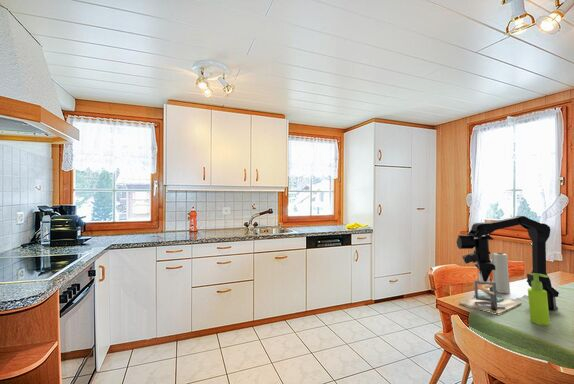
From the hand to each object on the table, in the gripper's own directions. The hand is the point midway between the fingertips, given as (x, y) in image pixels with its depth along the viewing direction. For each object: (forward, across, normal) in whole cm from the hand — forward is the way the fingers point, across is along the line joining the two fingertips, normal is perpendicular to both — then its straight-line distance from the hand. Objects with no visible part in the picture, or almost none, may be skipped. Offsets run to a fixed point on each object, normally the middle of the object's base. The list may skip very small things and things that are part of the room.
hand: (484, 280), depth 134 cm
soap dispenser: (+12, +15, +16) cm, 25 cm away
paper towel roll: (+12, -29, +13) cm, 34 cm away
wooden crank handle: (+11, -2, +3) cm, 12 cm away
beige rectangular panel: (+12, -3, +2) cm, 13 cm away
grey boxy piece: (+9, 0, 0) cm, 9 cm away
